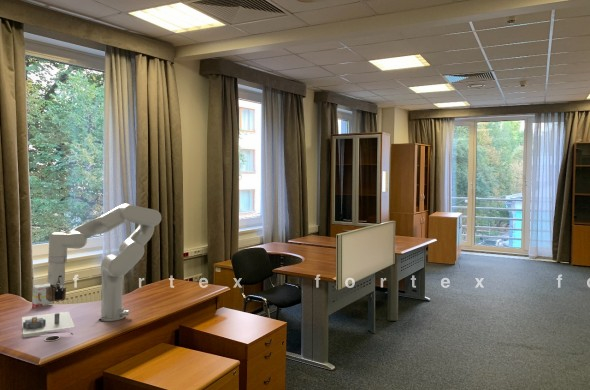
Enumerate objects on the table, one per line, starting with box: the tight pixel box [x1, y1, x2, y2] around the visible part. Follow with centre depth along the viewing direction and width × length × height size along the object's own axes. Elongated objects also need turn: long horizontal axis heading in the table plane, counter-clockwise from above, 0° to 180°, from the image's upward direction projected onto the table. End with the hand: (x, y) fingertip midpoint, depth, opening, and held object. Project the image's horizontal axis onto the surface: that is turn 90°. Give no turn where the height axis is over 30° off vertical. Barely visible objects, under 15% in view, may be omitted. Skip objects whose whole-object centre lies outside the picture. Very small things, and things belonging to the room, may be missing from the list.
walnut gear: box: [46, 285, 67, 302], centre depth 200 cm, size 8×8×6 cm
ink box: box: [31, 283, 54, 309], centre depth 228 cm, size 9×5×12 cm, turn 140°
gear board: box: [21, 310, 76, 339], centre depth 202 cm, size 26×20×6 cm
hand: (55, 297), depth 200 cm, fingers closed on walnut gear, 7 cm apart
